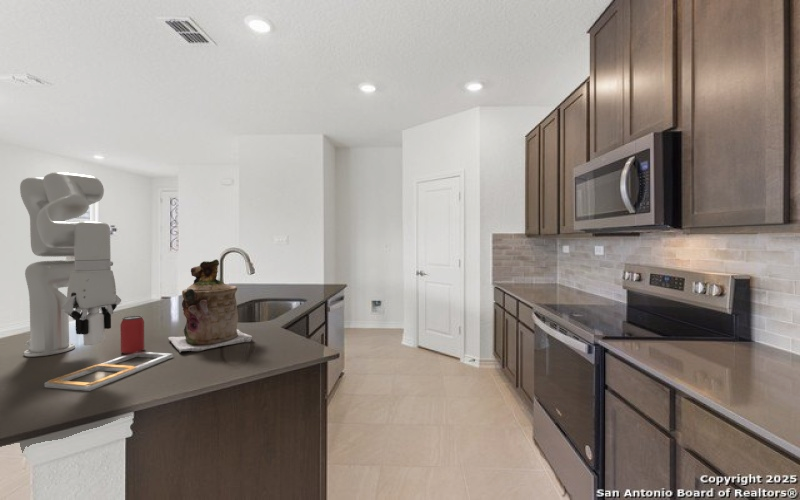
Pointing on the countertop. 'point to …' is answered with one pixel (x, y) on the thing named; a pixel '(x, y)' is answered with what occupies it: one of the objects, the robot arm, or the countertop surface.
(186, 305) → the cookie jar
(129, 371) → the rail
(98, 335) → the eye dropper bottle
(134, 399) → the countertop surface
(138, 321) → the beer can
